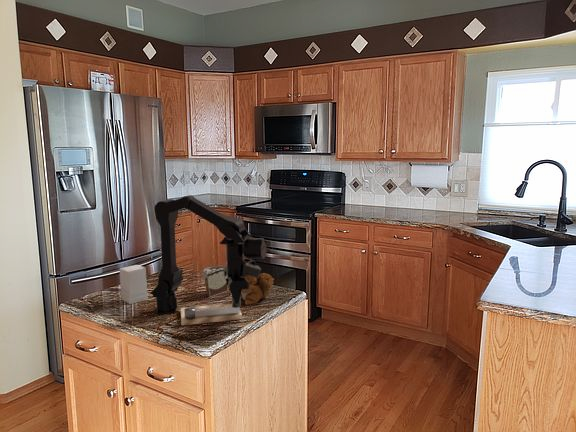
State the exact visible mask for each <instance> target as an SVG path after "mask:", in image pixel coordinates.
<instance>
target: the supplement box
mask: <svg viewBox="0 0 576 432" xmlns="http://www.w3.org/2000/svg"><path fill="white" fill-rule="evenodd" d="M146 268H147V267H144V266H141V265H139V264H134V265H128V266H123V267H121V268H119V281H120V282H119V283H120V294H121V301H124V302H125V303H127V304H129V305H133V304H136V303H140V302H143V301H147V300H149V298H148V285H147V282H148V281H147V271H146V270H147V269H146Z"/></svg>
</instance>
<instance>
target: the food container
mask: <svg viewBox="0 0 576 432" xmlns="http://www.w3.org/2000/svg"><path fill="white" fill-rule="evenodd" d="M226 267H227V265H214V266H209V267H206V268H204V269H203V271H202V274H201V275H202V278H204V286H205V293H206V296H207V297H208V298H212V297H214V296H217V295H221V294H223V293H226V292H228V291H229V287H228V284H227V282H226V278H228V276H227V275H226V276H224V269H225V268H226Z"/></svg>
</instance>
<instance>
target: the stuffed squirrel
mask: <svg viewBox="0 0 576 432" xmlns="http://www.w3.org/2000/svg"><path fill="white" fill-rule="evenodd" d="M245 278H246V279H247V280H248V282H249V289H242V292H241V300H242V299H243V301H244V305H248V306H249V305H253V304H256V303H258V302H259V301H260V299H265V298H267V297H268V296H269V295H270V288H271V287H272V286H274V280H275V278H273V277H272V275H270V274H269V273H265V272H263V273H261V272H260V275H259V278H255V277H253V276H250V275H247V274H246V277H245Z"/></svg>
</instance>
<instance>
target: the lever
mask: <svg viewBox="0 0 576 432" xmlns="http://www.w3.org/2000/svg"><path fill="white" fill-rule="evenodd" d="M231 303H232V306H222V307H212V308H201V309H195V308H194V307H195V306H189V308H187V307H185V308H186V309H185V310H184V311H185V318H186V319H193V318H195V317H201V316H210V315H220V314H230V313H240V311H241V307H242V298H241V296H240V300H239V303H238V304H236V303H235V301H234V299H233V297H232V296H231Z"/></svg>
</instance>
